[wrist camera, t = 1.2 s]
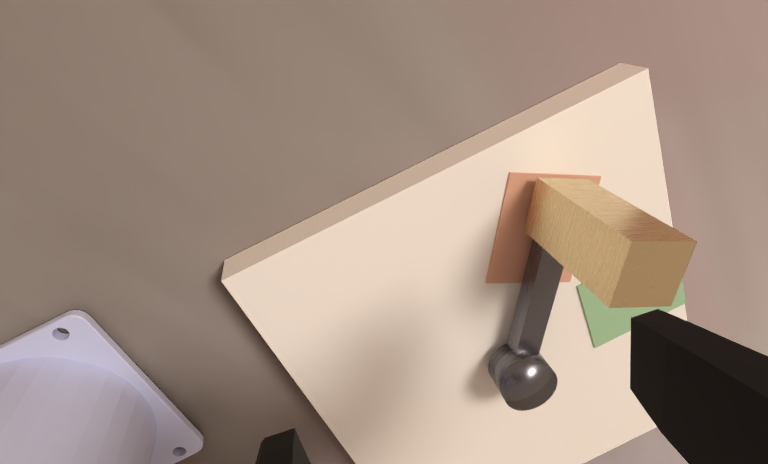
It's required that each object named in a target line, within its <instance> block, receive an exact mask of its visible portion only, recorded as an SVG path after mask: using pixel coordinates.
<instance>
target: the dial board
mask: <svg viewBox="0 0 768 464" xmlns="http://www.w3.org/2000/svg"><path fill="white" fill-rule="evenodd" d="M537 177H540V178H566V179H589V180H590V181H592V182H594V183H596V184H597V185H599V186H601V187H603V188H604V189H606V190H608V191H610V192H611V193H613V194H615V195H617V196H618V197H620V198H622V199H624V200H625V201H627V202H629V203H631V204H632V205H634V206H636V207H638V208H639V209H641V210H643V211H645V212H646V213H648V214H650V215H651V216H653V217H655V218H657V219H658V220H660V221H662V222H664V223H665V224H667V225H669V226H671V227H672V228H673V226H672V220H671V213H670V207H669V200H668V194H667V187H666V181H665V174H664V168H663V162H662V155H661V149H660V142H659V136H658V129H657V123H656V116H655V110H654V104H653V97H652V91H651V84H650V78H649V71H648V68H644V67H638V66H633V65H628V64H623V63H619V64H617V65H615V66H613V67H611V68H609V69H607V70H605V71H603V72H601V73H599V74H597V75H595V76H593V77H591V78H589V79H587V80H585V81H583V82H581V83H579V84H577V85H575V86H573V87H571V88H569V89H567V90H565V91H563V92H561V93H559V94H557V95H555V96H553V97H551V98H549V99H547V100H545V101H543V102H541V103H539V104H537V105H535V106H533V107H531V108H529V109H527V110H525V111H523V112H521V113H519V114H517V115H515V116H513V117H511V118H509V119H507V120H505V121H503V122H501V123H499V124H497V125H495V126H493V127H491V128H489V129H487V130H485V131H483V132H481V133H479V134H477V135H475V136H473V137H471V138H469V139H466V140H464V141H462V142H460V143H458V144H456V145H454V146H452V147H450V148H448V149H446V150H444V151H442V152H440V153H438V154H436V155H434V156H432V157H430V158H428V159H426V160H424V161H422V162H420V163H418V164H416V165H414V166H412V167H410V168H408V169H406V170H404V171H402V172H400V173H398V174H396V175H394V176H392V177H390V178H388V179H386V180H384V181H382V182H380V183H378V184H376V185H374V186H372V187H370V188H368V189H366V190H364V191H362V192H360V193H358V194H356V195H354V196H352V197H350V198H348V199H346V200H344V201H342V202H340V203H338V204H336V205H334V206H332V207H330V208H328V209H326V210H324V211H322V212H320V213H318V214H316V215H314V216H312V217H310V218H308V219H306V220H304V221H302V222H300V223H298V224H296V225H294V226H292V227H290V228H288V229H286V230H284V231H282V232H280V233H278V234H276V235H274V236H272V237H270V238H268V239H266V240H264V241H262V242H260V243H258V244H256V245H254V246H252V247H250V248H248V249H246V250H244V251H242V252H240V253H238V254H236V255H234V256H232V257H230V258H228V259H226V260H224V267H223V273H222V279H221V281H222V283H223V284H224V286H225V287H226V288H227V290H228V291H229V292H230V294H231V295H232V296H233V298H234V299H235V300H236V302H237V303H238V305H239V306H240V307H241V309H242V310H243V311H244V313H245V314H246V315H247V317H248V318H249V320H250V321H251V322H252V324H253V325H254V326H255V328H256V329H257V330H258V332H259V333H260V334H261V336H262V337H263V339H264V340H265V341H266V343H267V344H268V345H269V347H270V348H271V349H272V351H273V352H274V353H275V355H276V356H277V358H278V359H279V360H280V362H281V363H282V364H283V366H284V367H285V368H286V370H287V371H288V373H289V374H290V375H291V377H292V378H293V379H294V381H295V382H296V383H297V385H298V386H299V387H300V389H301V390H302V392H303V393H304V394H305V396H306V397H307V398H308V400H309V401H310V402H311V404H312V405H313V406H314V408H315V409H316V411H317V412H318V413H319V415H320V416H321V417H322V419H323V420H324V421H325V423H326V424H327V426H328V427H329V428H330V430H331V431H332V432H333V434H334V435H335V436H336V438H337V439H338V440H339V442H340V443H341V445H342V446H343V447H344V449H345V450H346V451H347V453H348V454H349V455H350V457H351V458H352V459H353V461H354V462H355V464H583V463H585V462H587V461H589V460H591V459H593V458H595V457H597V456H599V455H601V454H603V453H605V452H607V451H609V450H611V449H613V448H615V447H617V446H619V445H621V444H623V443H625V442H627V441H629V440H631V439H633V438H635V437H637V436H639V435H641V434H643V433H645V432H647V431H649V430H651V429H654V428H656V427H657V426H656V425H655V423H654V422H653V420H652V419H651V418H650V416H649V415H648V414H647V412H646V411H645V409H644V408H643V407H642V405H641V404H640V402H639V401H638V399H637V398H636V396H635V395H634V393H633V392H632V391H631V389H630V349H631V317H635V316H638V315H641V314H644V313H647V312H650V311H653V310H656V309H659V310H662V311H664V312H667V313H669V314H671V315H674V316H676V317H679V318H681V319H683V320H685V321H687V316H686V310H685V303H686V300H685V294H684V287H683V281H681V283H680V286H679V288H678V291H677V293H676V296H675V298H674V301H673V303H672V305H671V306H664V307H631V308H608V307H607V306H606V305H605V304H604V303H603V302H602V301H600V300H599V299H598V298H597V297H596V296H595V295H594V294H593V293H592V292H591V291H590V290H588V289H587V288H586V287H585V286H584V285H583V284H582V283H581V282H580V281H579V280H578V279H576V278H575V277H574V276H573V275H572V274H571V273H570V272H569V271H568V270H567V269H565V268H563V272H562V275H561V279H560V282H559V285H558V289H557V292H556V296H555V299H554V303H553V306H552V310H551V313H550V317H549V320H548V324H547V327H546V331H545V334H544V338H543V341H542V345H541V348H540V352H539V353H540V354H541V355H542V356H543V358H544V359H545V360H546V362H547V363H548V364H549V366H550V367H551V368H552V370H553V371H554V372H555V374H556V376H557V380H558V382H557V387H556V390H555V392H554V393H553V395H552V396H551V397H550V399H548V400H547V401H546V402H545V403H544V404H542V405H541V406H539V407H537V408H534V409H531V410H526V411H519V410H515V409H512V408H511V407H509V406H508V405H507V403H506V402H505V400H504V398H503V397H502V395H501V393H500V391H499V390H498V388H497V386H496V385H495V383H494V381H493V379H492V378H491V376H490V374H489V372H488V363H489V360H490V358H491V356H492V354H493V353H494V352H495V351H496V350H497V349H498V348H499V347H501V346H502V345H504V344H506V343H507V340H508V336H509V332H510V328H511V324H512V320H513V316H514V312H515V308H516V304H517V300H518V296H519V292H520V289H521V285H522V281H523V277H524V273H525V269H526V265H527V261H528V257H529V253H530V249H531V245H532V241H533V238H532V237H531V236H529V235H528V234H527V233H526V232H525V231H524V229H525V225H526V221H527V216H528V212H529V208H530V204H531V200H532V196H533V192H534V188H535V183H536V179H537Z"/></svg>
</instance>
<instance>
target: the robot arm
mask: <svg viewBox="0 0 768 464" xmlns="http://www.w3.org/2000/svg"><path fill="white" fill-rule="evenodd" d="M57 328H64V329H66V330H67V331H68V332H69V333H67V334H65V333H61V332H59V331H58V330H57ZM630 389H631V391H632V392H633V393H634V395H635V396H636V398H637V399H638V401H639V402H640V404H641V405H642V407H643V408H644V409H645V411H646V412H647V414H648V415H649V416H650V418H651V419H652V420H653V422H654V423H655V425H656V426H657V427H658V429H659V430H660V431H661V433H662V434H663V435H664V436H665V437H666V438H667V440H668V441H669V442H670V443H671V444H672V445H673V446H674V448H675V449H676V450H677V451H678V452H679V453H680V454H681V455H682V456H683V458H684V459H685V460H686V461H687V462H688V463H689V464H768V356H766V355H763V354H761V353H758V352H756V351H754V350H752V349H749V348H747V347H745V346H742V345H740V344H738V343H735V342H733V341H731V340H729V339H726V338H724V337H722V336H719V335H717V334H715V333H713V332H710V331H708V330H706V329H704V328H701V327H699V326H697V325H695V324H692V323H690V322H688V321H685V320H683V319H681V318H679V317H676V316H674V315H671V314H669V313H667V312H664V311H662V310H659V309H656V310H653V311H650V312H647V313H644V314H641V315H638V316H635V317H631V349H630ZM203 441H204V437H203V436H202V434H201V433H200V432H199V431H198V430H197V429H196V428H195V427H194V426H193V425H192V423H191V422H190V421H189V420H188V419H187V418H186V417H185V416H184V415H183V414H182V413H181V412H180V411H179V410H178V409H177V408H176V407H175V405H174V404H173V403H172V402H171V401H170V400H169V399H168V398H167V397H166V396H165V395H164V394H163V393H162V392H161V391H160V390H159V388H158V387H157V386H156V385H155V384H154V383H153V382H152V381H151V380H150V379H149V378H148V377H147V376H146V375H145V374H144V373H143V372H142V370H141V369H140V368H139V367H138V366H137V365H136V364H135V363H134V362H133V361H132V360H131V359H130V358H129V357H128V356H127V355H126V354H125V352H124V351H123V350H122V349H121V348H120V347H119V346H118V345H117V344H116V343H115V342H114V341H113V340H112V339H111V338H110V337H109V335H108V334H107V333H106V332H105V331H104V330H103V329H102V328H101V327H100V326H99V325H98V324H97V323H96V322H95V321H94V320H93V319H92V317H91V316H90V315H88V314H87V313H86V312H83V311H80V310H72V311H68V312H66V313H64V314H62V315H60V316H58V317H56V318H54V319H52V320H50V321H48V322H46V323H44V324H42V325H40V326H38V327H36V328H34V329H32V330H30V331H28V332H26V333H24V334H22V335H20V336H18V337H16V338H14V339H12V340H10V341H8V342H6V343H4V344H2V345H0V464H175V463H177V462H179V461H181V460H183V459H185V458H187V457H189V456H191V455H193V454H195V453H197V452H199V451H200V450H201V449H202V447H203ZM177 447H183V448H182V449H178V448H177ZM255 464H311V463H310V461H309V459H308V457H307V455H306V452H305V450H304V448H303V446H302V443H301V441H300V439H299V437H298V435H297V432H296V430H295V428H294V429H291V430H288V431H285V432H282V433H279V434H275V435H272V436H269V437H266V438H264V440H263V441H262V443H261V445H260V449H259V453H258V456H257V460H256V463H255Z"/></svg>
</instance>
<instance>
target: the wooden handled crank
mask: <svg viewBox="0 0 768 464" xmlns="http://www.w3.org/2000/svg"><path fill="white" fill-rule="evenodd" d="M524 231H525V232H526V233H527V234H528V235H529V236H531V237H532V238H533V241H532V245H531V249H530V253H529V257H528V261H527V265H526V269H525V273H524V277H523V281H522V285H521V289H520V292H519V296H518V300H517V304H516V308H515V312H514V316H513V320H512V324H511V328H510V332H509V336H508V340H507V343H506V344H504V345H502V346H501V347H499V348H498V349H497V350H496V351H495V352H494V353H493V354H492V356H491V358H490V360H489V363H488V372H489V374H490V376H491V378H492V379H493V381H494V383H495V385H496V386H497V388H498V390H499V391H500V393H501V395H502V397H503V398H504V400H505V402H506V403H507V405H508V406H509V407H511V408H512V409H515V410H519V411H526V410H531V409H534V408H537V407H539V406H541V405H542V404H544V403H545V402H546V401H547V400H548V399H550V397H551V396H552V395H553V393H554V392H555V390H556V387H557V382H558V380H557V376H556V374H555V372H554V371H553V370H552V368H551V367H550V366H549V364H548V363H547V362H546V360H545V359H544V358H543V356H542V355H541V354H540V353H539V352H540V348H541V345H542V341H543V338H544V334H545V331H546V327H547V324H548V320H549V317H550V313H551V310H552V306H553V303H554V299H555V296H556V292H557V289H558V285H559V282H560V279H561V275H562V272H563V268H565V269H567V270H568V271H569V272H570V273H571V274H572V275H573V276H574V277H575V278H576V279H578V280H579V281H580V282H581V283H582V284H583V285H584V286H585V287H586V288H587V289H588V290H590V291H591V292H592V293H593V294H594V295H595V296H596V297H597V298H598V299H599V300H600V301H602V302H603V303H604V304H605V305H606V306H607V307H608V308H631V307H664V306H671V305H672V303H673V301H674V298H675V296H676V293H677V291H678V288H679V286H680V283H681V281H682V278H683V276H684V273H685V271H686V268H687V266H688V263H689V261H690V258H691V256H692V253H693V251H694V248H695V246H696V243H697V241H695V240H693V239H692V238H690V237H688V236H686V235H685V234H683V233H681V232H679V231H678V230H676V229H674V228H672V227H671V226H669V225H667V224H665V223H664V222H662V221H660V220H658V219H657V218H655V217H653V216H651V215H650V214H648V213H646V212H645V211H643V210H641V209H639V208H638V207H636V206H634V205H632V204H631V203H629V202H627V201H625V200H624V199H622V198H620V197H618V196H617V195H615V194H613V193H611V192H610V191H608V190H606V189H604V188H603V187H601V186H599V185H597V184H596V183H594V182H592V181H590V180H589V179H566V178H540V177H537V179H536V183H535V188H534V192H533V196H532V200H531V204H530V208H529V212H528V216H527V221H526V225H525V229H524Z"/></svg>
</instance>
